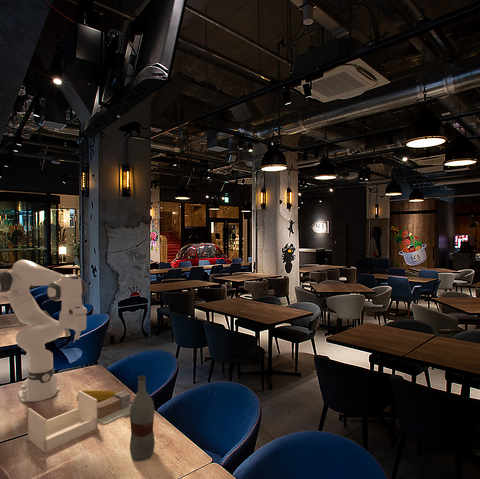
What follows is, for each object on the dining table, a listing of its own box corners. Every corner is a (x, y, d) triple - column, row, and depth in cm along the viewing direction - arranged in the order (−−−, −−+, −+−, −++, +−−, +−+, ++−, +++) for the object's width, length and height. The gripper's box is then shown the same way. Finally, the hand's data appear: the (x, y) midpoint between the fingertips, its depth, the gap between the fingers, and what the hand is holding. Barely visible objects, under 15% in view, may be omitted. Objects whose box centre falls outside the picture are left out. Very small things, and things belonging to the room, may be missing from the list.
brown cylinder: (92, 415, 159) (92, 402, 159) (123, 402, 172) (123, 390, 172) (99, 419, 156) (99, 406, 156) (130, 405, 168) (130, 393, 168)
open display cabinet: (27, 439, 142) (27, 408, 142) (79, 417, 159) (79, 390, 159) (44, 454, 132) (44, 420, 132) (97, 429, 149) (97, 399, 150)
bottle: (130, 464, 125) (130, 383, 125) (128, 451, 133) (127, 374, 134) (156, 458, 129) (156, 378, 129) (152, 445, 137) (152, 370, 137)
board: (86, 415, 162) (86, 412, 162) (119, 401, 176) (119, 398, 176) (104, 426, 152) (104, 423, 152) (138, 410, 166) (138, 407, 166)
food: (75, 405, 172) (75, 393, 172) (79, 400, 178) (79, 389, 178) (118, 402, 175) (118, 391, 175) (121, 397, 180) (121, 386, 180)
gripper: (55, 307, 166) (55, 335, 166) (75, 312, 153) (75, 342, 153) (68, 305, 171) (68, 332, 171) (89, 309, 158) (89, 339, 158)
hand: (72, 337), depth 162 cm, fingers open, 8 cm apart
